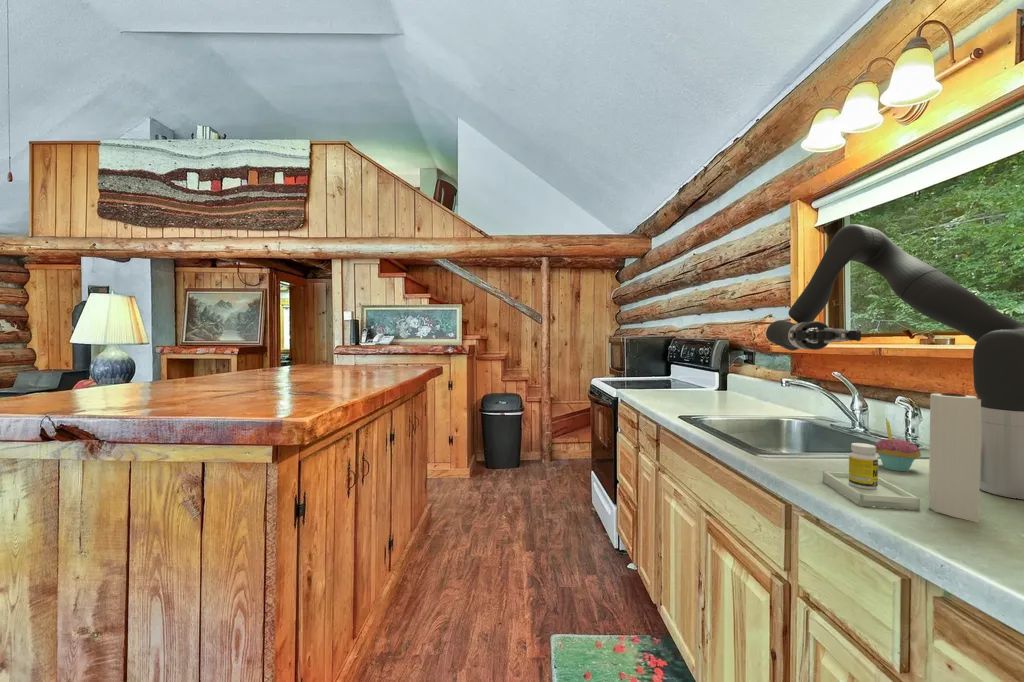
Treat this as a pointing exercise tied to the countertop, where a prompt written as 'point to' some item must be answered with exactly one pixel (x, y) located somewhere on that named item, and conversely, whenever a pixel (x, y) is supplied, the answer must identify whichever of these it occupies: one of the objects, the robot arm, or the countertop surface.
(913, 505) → the tray
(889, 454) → the cupcake
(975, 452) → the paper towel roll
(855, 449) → the supplement bottle
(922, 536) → the countertop surface
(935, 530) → the countertop surface
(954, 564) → the countertop surface
